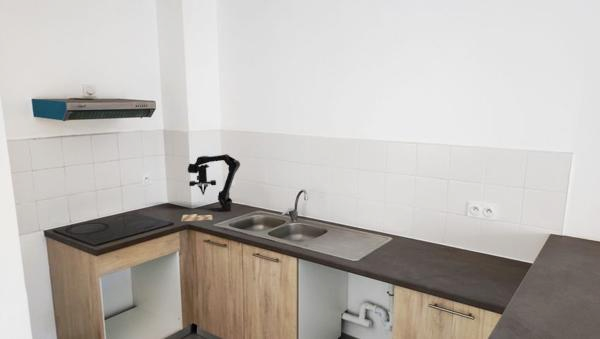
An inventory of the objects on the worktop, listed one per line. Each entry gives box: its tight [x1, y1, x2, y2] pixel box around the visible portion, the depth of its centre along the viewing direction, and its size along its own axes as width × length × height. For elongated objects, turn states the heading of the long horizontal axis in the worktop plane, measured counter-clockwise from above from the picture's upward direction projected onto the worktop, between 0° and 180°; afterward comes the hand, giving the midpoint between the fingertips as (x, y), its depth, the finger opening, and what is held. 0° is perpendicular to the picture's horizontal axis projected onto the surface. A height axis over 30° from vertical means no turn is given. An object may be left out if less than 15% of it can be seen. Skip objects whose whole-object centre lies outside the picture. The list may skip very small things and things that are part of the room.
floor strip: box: [180, 215, 213, 222], centre depth 278 cm, size 20×8×1 cm, turn 102°
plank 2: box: [197, 214, 213, 217], centre depth 287 cm, size 10×7×1 cm
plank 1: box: [181, 213, 198, 219], centre depth 284 cm, size 10×7×1 cm
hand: (203, 194), depth 300 cm, fingers closed
